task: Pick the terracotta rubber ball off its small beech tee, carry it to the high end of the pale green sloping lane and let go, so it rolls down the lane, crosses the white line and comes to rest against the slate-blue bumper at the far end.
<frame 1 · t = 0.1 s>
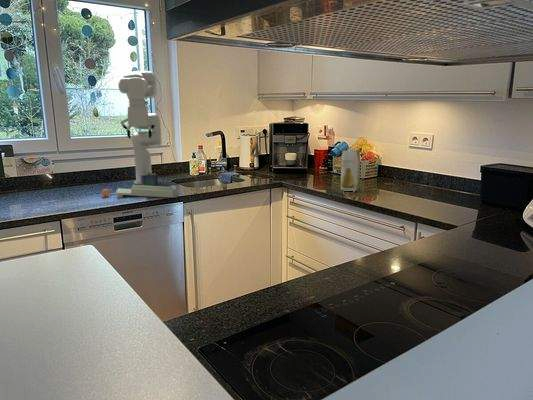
hand: (139, 138, 206), 31 cm above the worktop, tool pointing down, fingers open, 9 cm apart
lane: (145, 196, 216), on the worktop
ball: (106, 196, 210), point 1 cm above the worktop, touching tee
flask: (149, 190, 234), on the worktop
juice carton: (349, 191, 229), on the worktop
tee: (106, 199, 211), on the worktop
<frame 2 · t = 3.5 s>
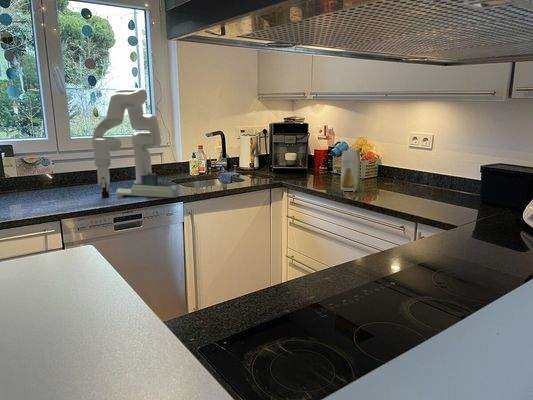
hand: (106, 197, 210), 1 cm above the worktop, tool pointing down, fingers closed on ball, 3 cm apart
ball: (106, 196, 210), point 1 cm above the worktop, touching gripper, tee
everything else where it was.
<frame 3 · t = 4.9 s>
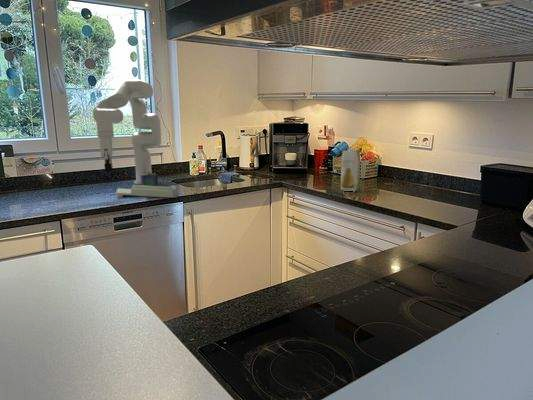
hand: (109, 170, 208), 15 cm above the worktop, tool pointing down, fingers closed on ball, 3 cm apart
ball: (108, 169, 208), point 16 cm above the worktop, touching gripper
everything else where it was.
when the fingers open (5 cm above the worktop, at t = 6.7 s): ball drops 4 cm and tips over, resting on lane.
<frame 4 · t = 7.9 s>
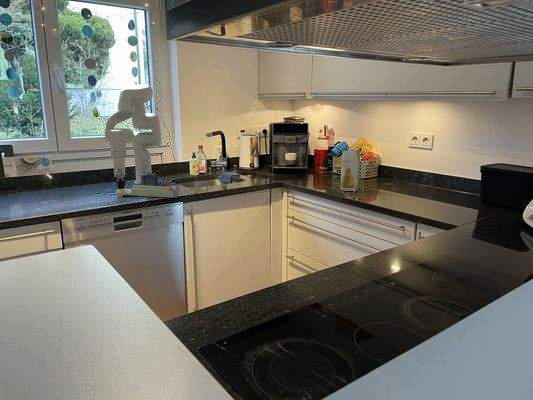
hand: (121, 187, 211), 6 cm above the worktop, tool pointing down, fingers open, 9 cm apart
ball: (170, 192, 219), point 2 cm above the worktop, tilted 36°, touching lane
everything else where it was.
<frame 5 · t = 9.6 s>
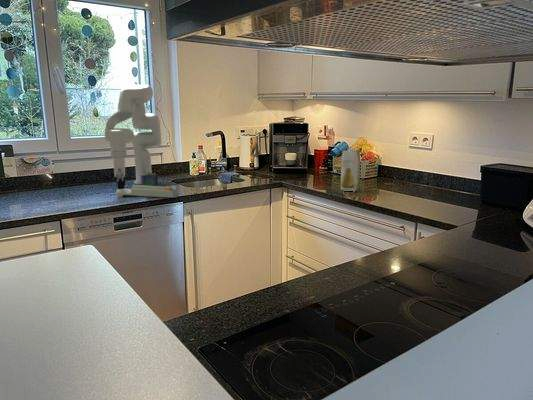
hand: (121, 187, 211), 6 cm above the worktop, tool pointing down, fingers open, 9 cm apart
nothing on the worktop moved.
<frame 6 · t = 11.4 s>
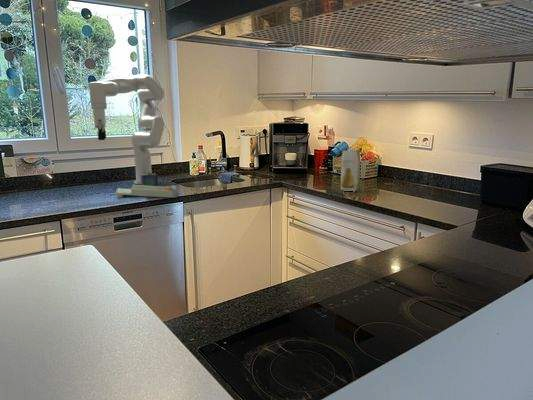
hand: (102, 139, 218), 30 cm above the worktop, tool pointing down, fingers open, 9 cm apart
nothing on the worktop moved.
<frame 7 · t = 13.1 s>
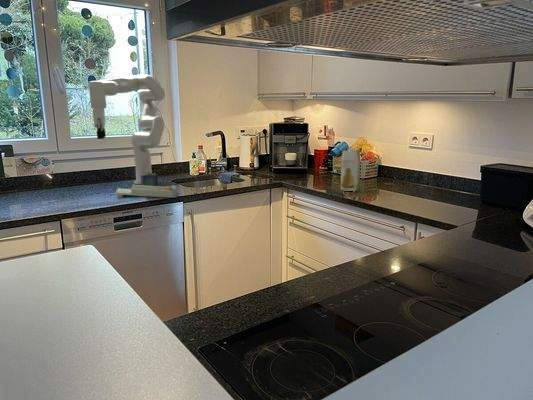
hand: (101, 138, 218), 30 cm above the worktop, tool pointing down, fingers open, 9 cm apart
nothing on the worktop moved.
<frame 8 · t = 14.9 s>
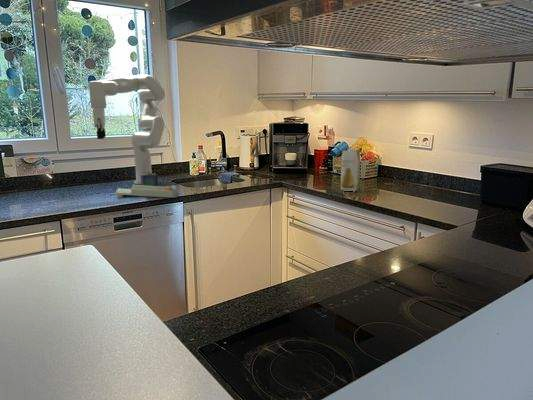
hand: (101, 138, 218), 30 cm above the worktop, tool pointing down, fingers open, 9 cm apart
nothing on the worktop moved.
at the end: ball inside the target area (3.1 cm from its centre), point 1.7 cm above the worktop; the gripper is holding nothing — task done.
